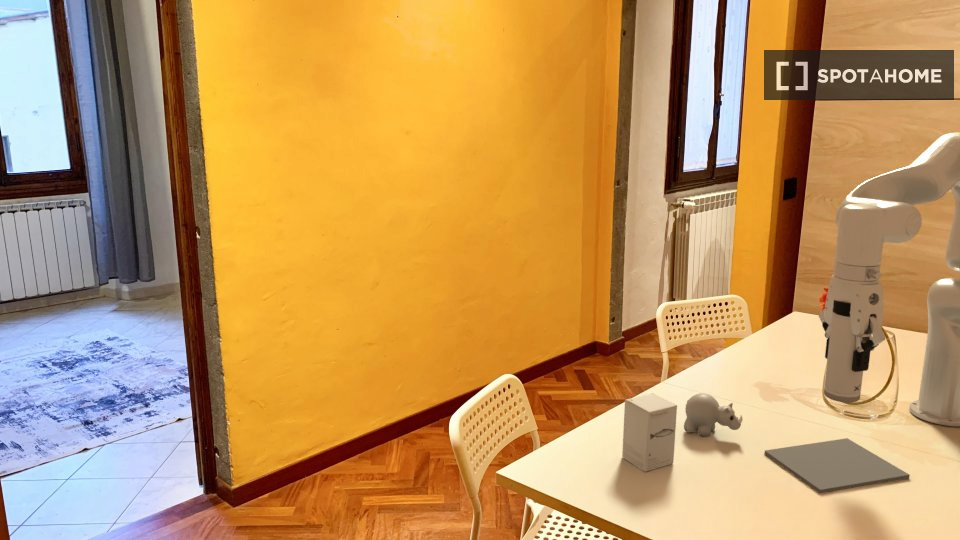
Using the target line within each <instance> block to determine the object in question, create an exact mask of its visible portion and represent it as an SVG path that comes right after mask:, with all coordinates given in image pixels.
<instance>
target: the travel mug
mask: <svg viewBox="0 0 960 540" xmlns="http://www.w3.org/2000/svg"><path fill="white" fill-rule="evenodd" d="M833 306H834V307H833V311H832V319H831V329H830V338H829V348H828V357H827V359H826V368H825V379H824V387H823V394H824V396H825V397H826V398H828V399H829V400H831V401H835V402H837V403H845V404H846V403H848V404H849V403H850V404H851V403H856V402H858V401H860V399H861V394H862V393H861V392H862V385H863V384H862V383H863V375H864V371H859V372H854V371H852V362H853V353H854V351H856V350H857V347H856V342H855V336H854V335H853V334H851V323H850V309H851V303H844V302H839V301H835V300H834V303H833ZM864 334H866V330H865V331H864ZM862 341H863V343H865V342H866V341H865V337H862Z"/></svg>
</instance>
